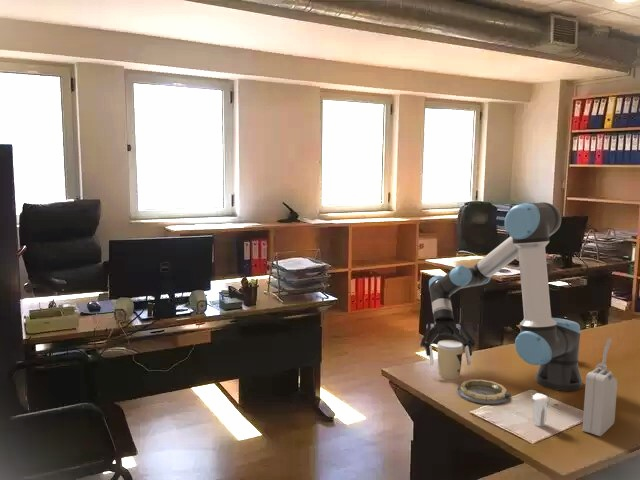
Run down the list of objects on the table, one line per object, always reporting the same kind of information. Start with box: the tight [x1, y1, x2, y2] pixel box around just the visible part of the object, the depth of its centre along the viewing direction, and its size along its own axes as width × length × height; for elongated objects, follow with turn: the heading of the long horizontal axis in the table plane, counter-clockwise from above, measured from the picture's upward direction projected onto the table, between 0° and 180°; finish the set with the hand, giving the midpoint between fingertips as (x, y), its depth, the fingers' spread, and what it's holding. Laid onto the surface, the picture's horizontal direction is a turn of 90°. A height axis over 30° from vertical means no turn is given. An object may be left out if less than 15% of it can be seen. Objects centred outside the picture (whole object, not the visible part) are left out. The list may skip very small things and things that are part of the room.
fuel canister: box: [582, 337, 618, 437], centre depth 161 cm, size 15×5×25 cm, turn 135°
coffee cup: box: [436, 339, 464, 380], centre depth 201 cm, size 9×9×12 cm
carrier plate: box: [456, 379, 511, 406], centre depth 184 cm, size 17×17×2 cm
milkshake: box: [530, 392, 550, 427], centre depth 162 cm, size 5×5×10 cm
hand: (450, 363), depth 199 cm, fingers open, 13 cm apart
